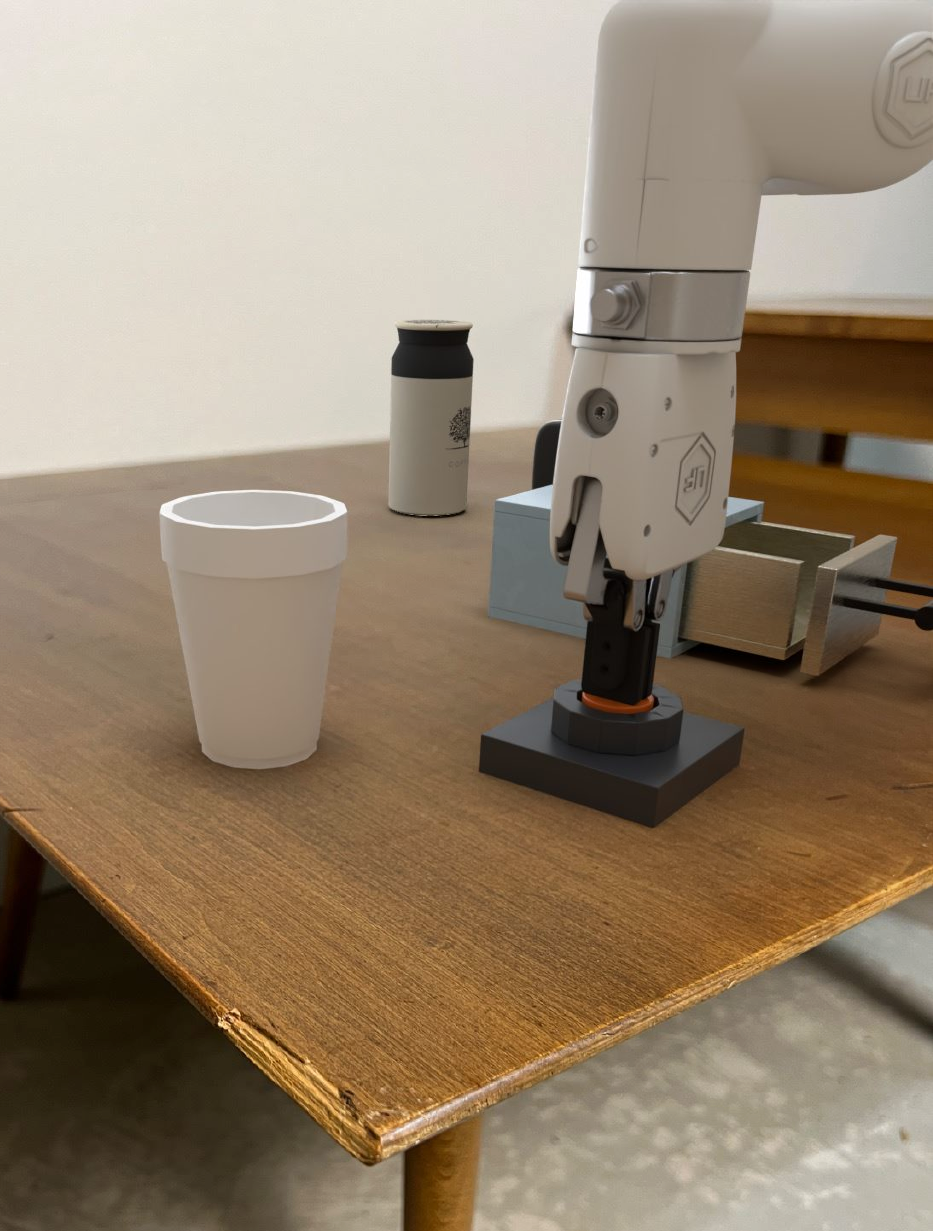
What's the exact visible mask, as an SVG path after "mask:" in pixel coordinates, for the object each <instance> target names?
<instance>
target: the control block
mask: <svg viewBox="0 0 933 1231" xmlns="http://www.w3.org/2000/svg"><path fill="white" fill-rule="evenodd" d="M581 682H582V678H577V679H572V680H569V681H567V682H565V683H563V684H561V685H559V686H557V687H555V688H554V690H553V697H551V698H549V699H547V700H545V701H543V702H542V703H539V704H538V705H535V706H534V707H532V708H530V709H528V710H526V711H524V712H522V713H520V714H518V715H516V716H514V717H512V718H510V719H508V720H506V721H505V722H504V721H503V723H500V724H498V725H496V726H494V727H492V728H491V729H488V730H486V731H485V732H483V733H481V734H480V743H479V744H480V746H479V760H478V761H479V762H478V772H479V773H481V774H485V775H487V776H490V777H493V778H497V779H500V780H503V781H506V782H508V783H512V784H515V785H519V786H521V787H524V788H528V789H530V790H534V791H536V792H539V793H542V794H546V795H549V796H552V797H555V798H558V799H561V800H565V801H568V802H571V803H573V804H577V805H579V806H583V807H585V808H589V809H591V810H596V811H598V812H601V813H604V814H607V815H610V816H613V817H616V818H619V819H623V820H626V821H629V822H632V823H635V824H637V825H641V826H644V827H647V828H650V829H655V828H656V827H657V826H659V825H660V824H662V823H663V822H664V821H666V819H668V818H670V817H671V816H672V815H673V814H675V813H677V812H678V811H679V810H680V809H681V808H683V807H684V806H685V805H687V804H688V803H690V802H691V801H692V800H694V799H695V798H697V797H698V796H699V795H700V794H702V793H703V792H704V791H706V790H707V789H709V788H710V787H711V786H712V785H714V784H715V783H717V782H718V781H719V780H721V779H722V778H724V776H727V774H730V772H731V771H732V770H734V769H735V768H737V767H738V766H739V765H740V763H741V755H742V750H743V742H744V736H745V729H746V728H745V727H744V726H740V725H737V724H732V723H729V722H725V721H721V720H717V719H713V718H710V717H706V716H702V715H698V714H694V713H692V712H691V713H690V712H686V711H685V710H684V705H683V704H684V703H683V700H682V697H681V696H680V695H678V694H676V693H675V692H674V691H673V692H672V691H671V690H669V689H667V688H666V687H664V686H663V685H658V684H656V683H655V684H654V683H653V687H652V693H651V694H652V696H653V698H654V703H653V709H652V710H651V711H648V712H640V713H633V714H624V713H610V712H605V711H601V710H598V709H594V708H590V707H588V706H586V705H585V704H583V703H582V695H583V690H582V688H581Z"/></svg>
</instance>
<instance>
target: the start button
mask: <svg viewBox="0 0 933 1231" xmlns="http://www.w3.org/2000/svg"><path fill="white" fill-rule="evenodd" d="M582 703H583V704H585V705H586V706H588V707H590V708H594V709H598V710H601V711H605V712H610V713H624V714H633V713H640V712H648V711H651V710H652V709H653V703H654V698H653V696H652V694H651V695H650V696H649V697H647V698H646V699H644V700H641V701H640V702H639V703H637V704H635V705H628V704H624V703H620V702H616V701H613V700H609V699H605V698H601V697H597V696H594V695H590V694H586V693H584V692H583V695H582Z"/></svg>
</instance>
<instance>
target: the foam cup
mask: <svg viewBox="0 0 933 1231" xmlns="http://www.w3.org/2000/svg"><path fill="white" fill-rule="evenodd" d="M158 515H159V516H158V517H159V533H160V551H161V553H160V554H161V561H163V562H165V563H166V568H167V573H168V579H169V580H168V581H169V585H170V590H171V595H172V601H173V605H174V611H175V617H176V623H177V628H178V633H179V640H180V644H181V649H182V655H183V660H184V665H185V670H186V676H187V681H188V686H189V692H190V697H191V703H192V709H193V714H194V719H195V724H196V730H197V735H198V740H199V741H198V742H199V743H200V744H201V753H202V754H203V755H204V756H206V757H208V759H209V760H211V761H212V762H214V763H217V764H221V765H224V766H227V767H229V768H235V769H236V768H237V769H250V770H251V769H252V770H266V769H274V768H283V767H284V768H285V767H289V766H291V765H294V764H297V763H299V762H302V761H305V760H307V759H308V758H309V757H310V756H312V755H313V754H314V753H315V752H316V751H317V750H318V747H317V746H318V745H317V744H318V741H319V738H320V731H321V724H322V716H323V710H324V703H325V702H324V701H325V694H326V687H327V680H328V679H327V678H328V671H329V666H330V658H331V649H332V644H333V643H332V642H333V635H334V628H335V621H336V613H337V605H338V598H339V590H340V586H341V585H340V583H341V577H342V570H343V562H344V561H345V560H347V559H348V510H347V508H346V505H345V503H344V502H343V501H339V500H336V499H334V498H331V497H329V496H325V495H320V494H313V493H306V492H300V491H294V490H293V491H291V490H290V491H289V490H270V489H269V490H268V489H267V490H266V489H242V490H241V489H240V490H222V491H220V490H219V491H211V492H204V493H197V494H191V495H185V496H180V497H178V498H175V499H172V500H169V501H167V502H164V503H162V504H161V507H160V510H159V513H158Z"/></svg>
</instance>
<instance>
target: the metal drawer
mask: <svg viewBox="0 0 933 1231" xmlns="http://www.w3.org/2000/svg"><path fill="white" fill-rule="evenodd" d="M855 540H856V536H855V535H851V534H846V533H840V532H839V533H838V532H834V531H833V532H832V531H827V530H826V531H825V530H821V529H814V528H813V529H812V528H806V527H800V526H794V525H786V524H780V523H774V522H767V521H762V520H761V521H755V520H749V519H746V520H743V521H741V522H738V523H736V524H733V525H731V526H728V527H726V528H725V529H724V535H723V538H722V540H721V542H720V543H719V545H718V546H717V547H716V548H715V549H714V550H712V551H711V552H709V553H708V554H706V555H704V556H702V557H700V558H698V559H696V560H693V561H691V562H689V563H687V569H686V577H685V585H684V593H683V601H682V608H681V616H680V624H679V632H678V637H680V638H685V639H689V640H694V641H698V642H702V644H703V643H704V644H708V645H713V646H717V647H722V648H726V649H730V650H735V651H740V652H745V653H749V654H752V655H753V654H754V655H758V656H762V657H767V658H771V659H774V660H775V659H776V660H781V661H785V660H787V659H789V658H790V657H791V656H793V655H795V654H796V653H798V652H800V651H801V650H803V652H802V657H801V662H800V669H799V672H800V673H802V674H805V675H806V674H807V675H809V676H810V675H811V676H815V677H819V676H820V675H822V674H823V673H825V672H826V671H828V670H829V669H830V668H832V667H833V666H835V665H837V664H838V663H839V662H841V661H842V660H844V659H845V658H846V657H848V656H849V655H851V654H852V653H854V652H855V651H857V650H858V649H859V648H861V647H863V646H864V645H865V644H866V643H868V642H870V641H871V640H872V639H874V638H876V637H877V636H878V635H879V632H880V627H881V623H882V618H883V615H886V616H890V617H896V618H902V619H907V620H912V621H914V623H915V625H916V627H917V628H918V629H920V630H922V631H925V632H931V631H933V599H931V600H930V601H928V602H927V603H926V604H924V605H922V606H920V608H917V607H911V606H907V605H900V604H895V603H889V602H885V601H886V597H887V592H888V591H889V590H890V591H894V592H899V593H905V594H912V595H917V596H922V597H928V598H933V585H928V584H922V583H916V582H911V581H904V580H899V579H893V578H890V577H891V572H892V567H893V562H894V557H895V551H896V547H897V542H898V537H897V536H893V535H886V534H878V535H876V536H874V537H872V538H870V539H868V540H866V541H864V542H863V543H861V544H858V545H856V546H855ZM854 546H855V547H854Z"/></svg>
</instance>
